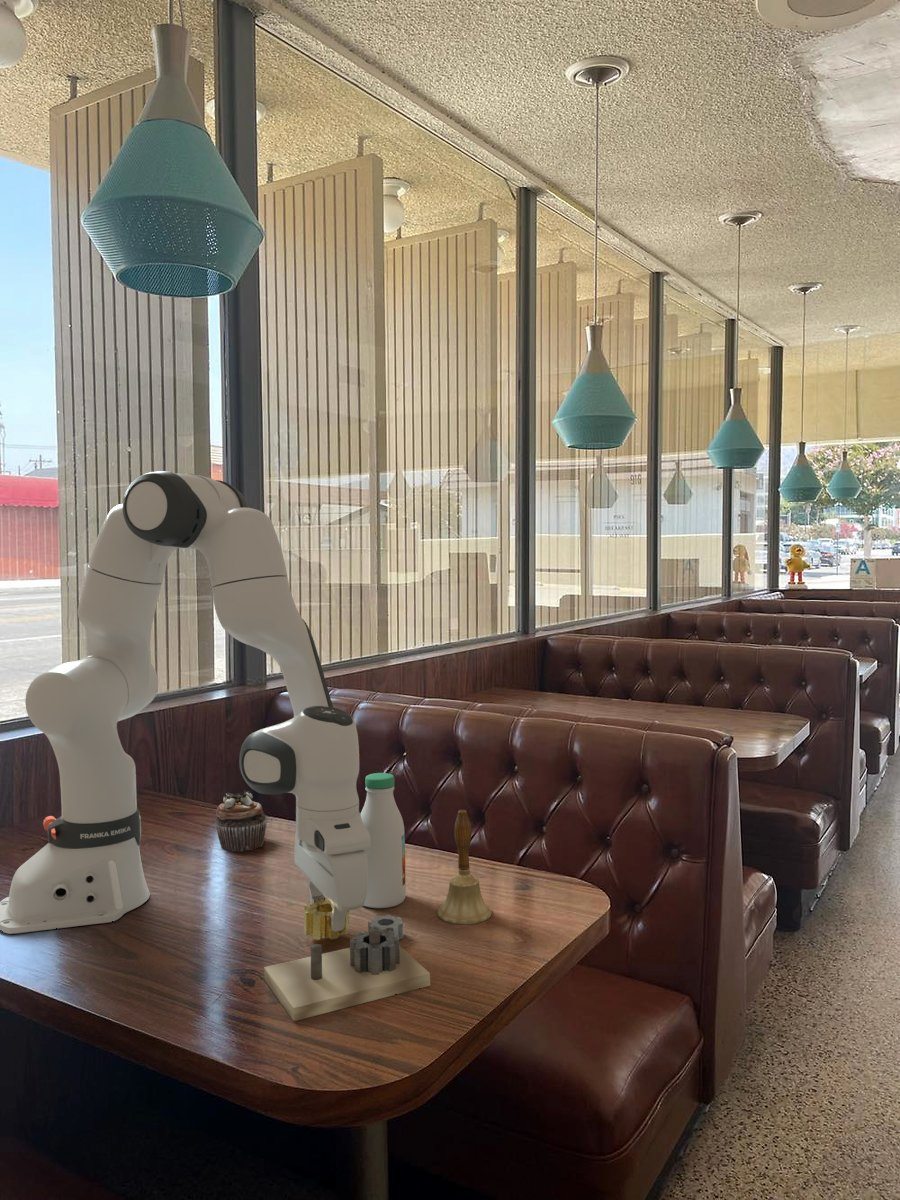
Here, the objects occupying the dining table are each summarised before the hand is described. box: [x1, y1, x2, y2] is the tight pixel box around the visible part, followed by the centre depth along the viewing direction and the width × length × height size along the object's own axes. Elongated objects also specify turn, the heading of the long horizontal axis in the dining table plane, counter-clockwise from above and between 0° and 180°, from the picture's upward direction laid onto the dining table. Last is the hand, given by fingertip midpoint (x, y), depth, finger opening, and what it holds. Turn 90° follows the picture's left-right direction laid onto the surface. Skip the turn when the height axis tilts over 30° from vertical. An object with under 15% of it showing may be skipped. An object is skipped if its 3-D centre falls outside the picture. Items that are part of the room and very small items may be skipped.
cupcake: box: [214, 789, 269, 852], centre depth 170 cm, size 10×10×10 cm
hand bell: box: [436, 809, 493, 926], centre depth 137 cm, size 8×8×16 cm
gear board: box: [263, 931, 431, 1022], centre depth 115 cm, size 18×12×6 cm, turn 118°
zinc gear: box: [367, 914, 405, 940], centre depth 129 cm, size 5×5×2 cm
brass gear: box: [303, 899, 350, 940], centre depth 128 cm, size 6×6×3 cm
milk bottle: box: [360, 772, 407, 909], centre depth 142 cm, size 8×8×20 cm
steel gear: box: [349, 929, 401, 975], centre depth 117 cm, size 6×6×3 cm
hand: (327, 918), depth 128 cm, fingers closed on brass gear, 6 cm apart
